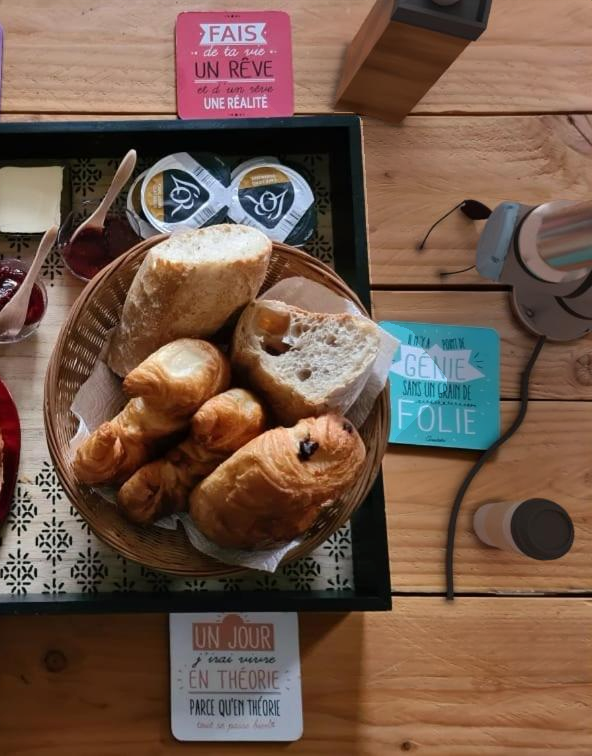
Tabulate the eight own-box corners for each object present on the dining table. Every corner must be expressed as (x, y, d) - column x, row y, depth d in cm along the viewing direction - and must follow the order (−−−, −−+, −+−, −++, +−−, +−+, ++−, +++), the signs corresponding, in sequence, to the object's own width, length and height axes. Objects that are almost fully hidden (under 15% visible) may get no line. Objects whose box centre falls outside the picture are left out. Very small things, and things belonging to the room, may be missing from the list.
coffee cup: (485, 562, 119) (542, 573, 104) (455, 512, 120) (508, 516, 105) (532, 536, 119) (595, 543, 105) (502, 487, 121) (561, 487, 106)
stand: (399, 124, 130) (473, 39, 105) (333, 107, 130) (391, 18, 105) (413, 64, 131) (489, -34, 107) (348, 47, 132) (409, -54, 107)
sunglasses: (503, 248, 126) (517, 240, 121) (445, 288, 127) (457, 282, 122) (464, 200, 128) (477, 190, 123) (407, 240, 128) (417, 232, 123)
